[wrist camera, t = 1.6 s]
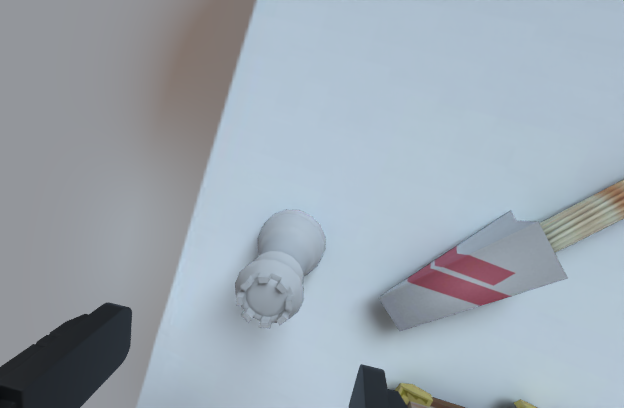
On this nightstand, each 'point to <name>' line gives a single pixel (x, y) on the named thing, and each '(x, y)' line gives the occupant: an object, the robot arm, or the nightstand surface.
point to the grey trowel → (499, 261)
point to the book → (433, 399)
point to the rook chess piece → (280, 267)
